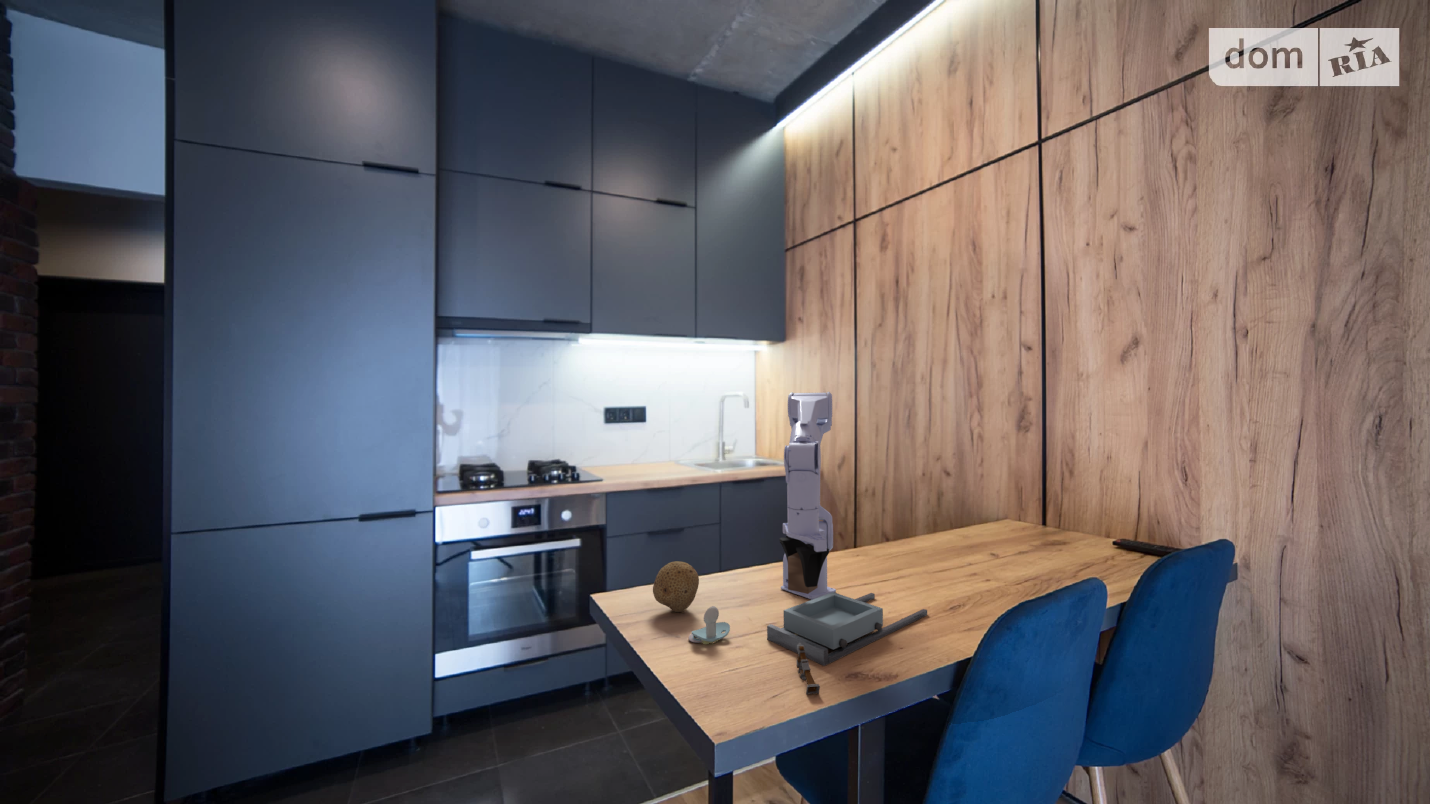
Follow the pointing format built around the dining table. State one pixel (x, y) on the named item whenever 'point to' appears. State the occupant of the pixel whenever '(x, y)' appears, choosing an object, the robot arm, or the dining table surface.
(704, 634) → the pacifier
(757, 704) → the dining table surface
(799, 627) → the cart
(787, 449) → the robot arm
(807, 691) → the wooden post with brackets
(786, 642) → the rail
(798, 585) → the walnut block
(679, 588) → the natural sponge
